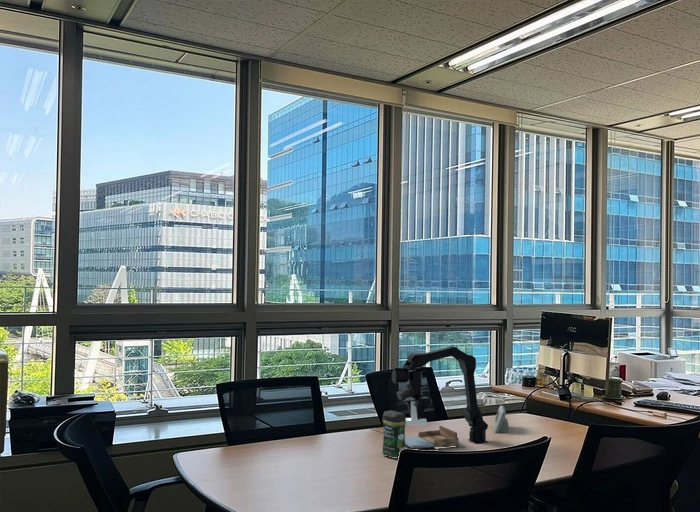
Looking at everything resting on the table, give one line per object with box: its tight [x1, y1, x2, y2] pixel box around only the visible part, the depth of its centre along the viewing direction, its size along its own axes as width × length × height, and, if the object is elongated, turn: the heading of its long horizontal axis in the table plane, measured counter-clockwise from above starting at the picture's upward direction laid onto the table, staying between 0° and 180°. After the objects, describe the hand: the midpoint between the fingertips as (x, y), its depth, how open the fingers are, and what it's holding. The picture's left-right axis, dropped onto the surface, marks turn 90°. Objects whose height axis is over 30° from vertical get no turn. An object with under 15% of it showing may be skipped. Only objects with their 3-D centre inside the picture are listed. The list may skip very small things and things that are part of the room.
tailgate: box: [405, 436, 434, 449], centre depth 271 cm, size 1×15×11 cm
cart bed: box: [417, 425, 459, 447], centre depth 276 cm, size 11×16×6 cm
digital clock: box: [492, 405, 509, 434], centre depth 303 cm, size 16×9×11 cm, turn 157°
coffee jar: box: [381, 409, 407, 458], centre depth 256 cm, size 10×8×19 cm
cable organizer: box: [405, 401, 428, 427], centre depth 272 cm, size 5×10×10 cm, turn 85°
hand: (415, 417), depth 272 cm, fingers closed on cable organizer, 6 cm apart
